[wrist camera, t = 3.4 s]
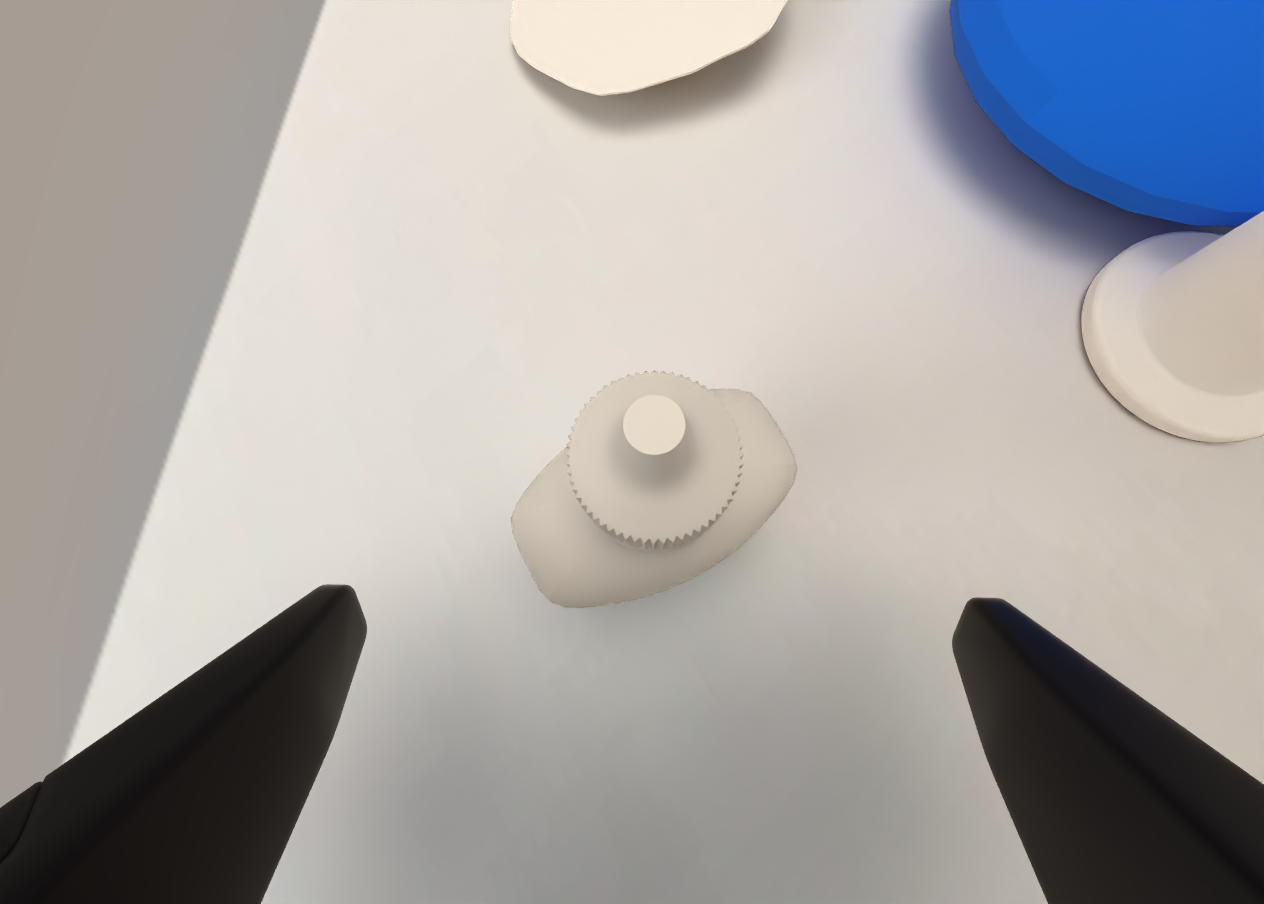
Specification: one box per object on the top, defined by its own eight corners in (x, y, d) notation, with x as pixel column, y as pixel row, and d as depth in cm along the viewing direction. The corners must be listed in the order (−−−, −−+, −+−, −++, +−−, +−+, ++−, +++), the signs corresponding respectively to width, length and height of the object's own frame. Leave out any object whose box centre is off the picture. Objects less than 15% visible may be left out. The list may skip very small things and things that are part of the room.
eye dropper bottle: (568, 461, 19) (426, 249, 7) (742, 464, 18) (895, 249, 7) (561, 600, 18) (382, 622, 6) (746, 605, 17) (930, 637, 6)
